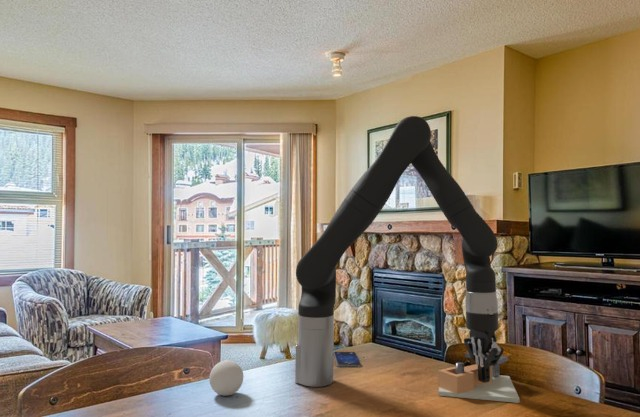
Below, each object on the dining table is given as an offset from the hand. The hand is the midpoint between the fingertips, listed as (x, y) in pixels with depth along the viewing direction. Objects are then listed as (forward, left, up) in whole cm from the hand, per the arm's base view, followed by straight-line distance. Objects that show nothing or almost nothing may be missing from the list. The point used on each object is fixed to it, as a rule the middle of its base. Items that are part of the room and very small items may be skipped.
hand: (484, 381), depth 116 cm
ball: (-60, -18, -3) cm, 62 cm away
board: (-2, +3, -3) cm, 4 cm away
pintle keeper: (0, +5, -3) cm, 6 cm away
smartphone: (-38, +19, -3) cm, 42 cm away
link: (-4, +2, -2) cm, 4 cm away
